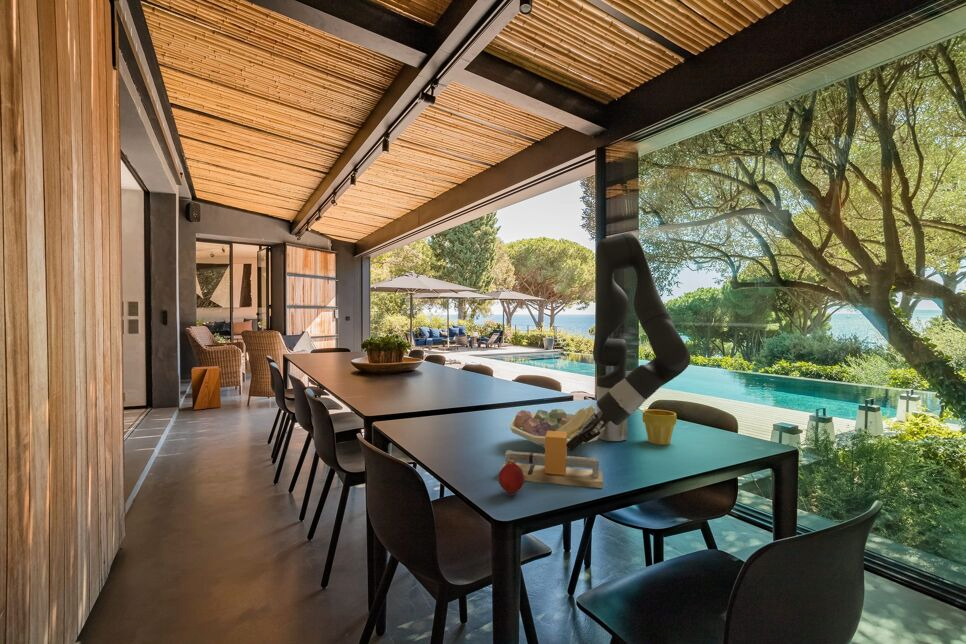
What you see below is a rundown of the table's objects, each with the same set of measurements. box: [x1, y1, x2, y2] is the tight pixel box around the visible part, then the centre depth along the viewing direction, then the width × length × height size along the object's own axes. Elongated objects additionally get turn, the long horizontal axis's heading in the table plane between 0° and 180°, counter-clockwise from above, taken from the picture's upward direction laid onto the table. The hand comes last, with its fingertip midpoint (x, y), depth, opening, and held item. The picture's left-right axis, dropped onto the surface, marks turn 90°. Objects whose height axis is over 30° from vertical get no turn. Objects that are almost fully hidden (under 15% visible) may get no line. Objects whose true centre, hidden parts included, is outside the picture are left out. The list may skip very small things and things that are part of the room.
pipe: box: [504, 449, 600, 478], centre depth 116 cm, size 23×3×4 cm, turn 77°
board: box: [498, 462, 604, 489], centre depth 116 cm, size 25×8×2 cm, turn 77°
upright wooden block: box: [544, 431, 568, 475], centre depth 115 cm, size 5×6×9 cm
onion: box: [498, 460, 525, 496], centre depth 104 cm, size 6×6×8 cm
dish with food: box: [509, 404, 599, 449], centre depth 141 cm, size 28×28×14 cm
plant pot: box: [642, 409, 677, 446], centre depth 150 cm, size 10×10×10 cm
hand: (568, 447), depth 115 cm, fingers closed
